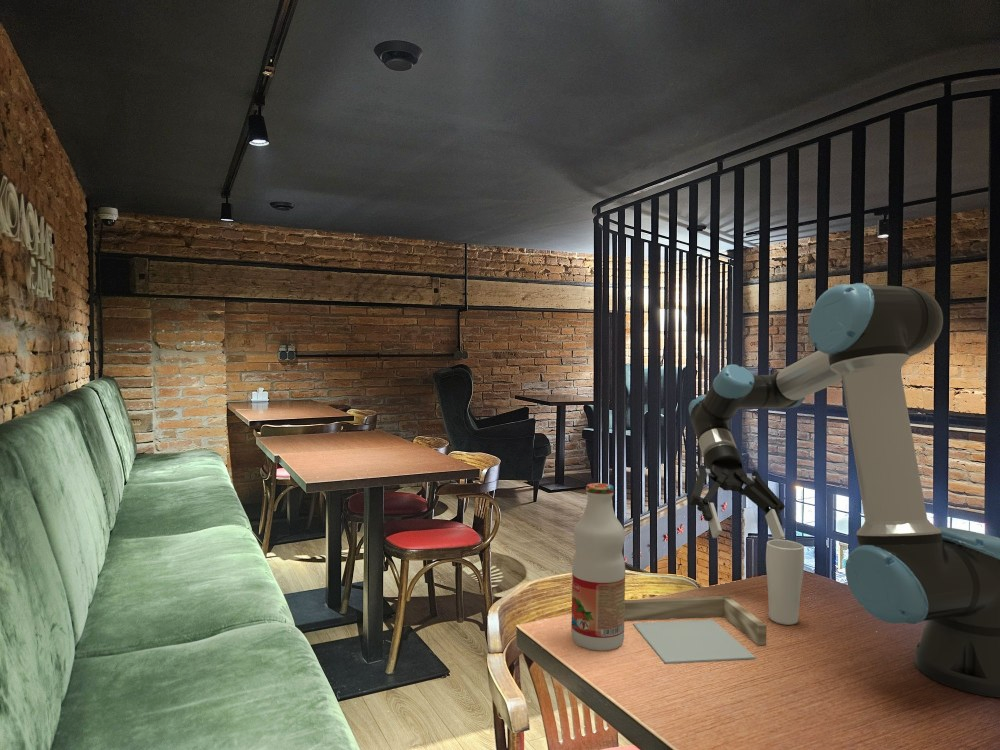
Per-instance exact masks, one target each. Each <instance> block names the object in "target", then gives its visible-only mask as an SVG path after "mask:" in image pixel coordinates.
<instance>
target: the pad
mask: <svg viewBox="0 0 1000 750" xmlns="http://www.w3.org/2000/svg"><path fill="white" fill-rule="evenodd" d="M632 625H633V626H634V627H635V629H636V630H637V631H638V633H639V634H640V635H641V636H642V638H643V639H644V640H645V641H646V642H647V644H649V646H650V647H651V649H653V651H654V652H655V653H656V654H657V656H658V657H659V658H660V659H661V661H662V662H663V663H664V664H665V665H667V664H668V665H670V664H685V663H703V662H705V663H706V662H708V663H709V662H725V661H726V662H727V661H742V660H743V661H747V660H756V656H755V655H754V654H752V652H750V651H749V650H748V649H747V648H746V647H745V646H744V645H742V644H741V643H740V642H739V641H738V640H737V639H736V638H734V637H733V636H732V635H731V634H730V633H728V632H727V630H725V629H724V628H723V627H722V626H721V625H720V624H718V623H717V622H716V621H715V620H714V619H703V620H702V619H701V620H700V619H698V620H677V621H675V620H674V621H656V622H653V621H651V622H633V623H632Z"/></svg>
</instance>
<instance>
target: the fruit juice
mask: <svg viewBox="0 0 1000 750" xmlns="http://www.w3.org/2000/svg"><path fill="white" fill-rule="evenodd" d="M614 488H615V487H614V486H613V484H609V483H601V482H595V483H588V484H587V485H586V486H585V491H586V493H585V495H586V496H587V502H586V505H585V509H584V512H583V514H582V516H581V517H580V519H579V520H578V521H577V523H576V524H575V526H574V529H573V541H574V545H575V553H574V554H573V559H572V564H571V565H572V568H571V578H572V579H571V624H570V626H571V629H570V630H571V638H572V640H573V642H574V643H575V644H576V645H577V646H579V647H581V646H582V648H584V649H588V650H591V651H604V652H605V651H611V650H615V649H618V648H619V647H621V646H622V645H623V643H624V639H625V621H624V615H625V600H626V562H625V558H624V556H623V548H624V545H625V542H626V541H625V540H626V534H625V533H626V532H625V529H624V527H623V525H622V523H621V522H620V520H619V519H618V518H617V516H616V513H615V510H614V506H613V501H612V499H613V496H614V494H615V493H614V492H615V490H614Z"/></svg>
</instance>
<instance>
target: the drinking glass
mask: <svg viewBox="0 0 1000 750" xmlns="http://www.w3.org/2000/svg"><path fill="white" fill-rule="evenodd" d="M765 567H766V569H765V571H766V582H767V598H768V601H767V602H768V617H769V619H770V620H771V621H772V622H774V623H777V624H780V625H784V626H787V625H789V626H791V625H792V626H793V625H795V624H798V623H799V622H798V621H799V620H800V619H799V613H800V612H799V611H800V602H801V594H802V593H801V592H802V586H803V579H804V569H805V568H804V567H805V548H804V545H803V544H802V543H799V542H797V541H794V540H787V539H783V540H774V539H769V540H768V541H766V550H765Z"/></svg>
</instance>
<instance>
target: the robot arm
mask: <svg viewBox="0 0 1000 750" xmlns="http://www.w3.org/2000/svg"><path fill="white" fill-rule="evenodd" d="M807 325H808V327H807V328H808V330H807V331H808V336H809V340H810V342H811V344H812V345H813V347H815V348H816V350H817V351H815V352H813V353H811V354H809V355H807V356H805V357H804V358H801V359H799V360H798V361H796V362H794V363H792V364H790V365H788V366H786V367H784V368H783V369H781V370H778V371H777V372H775V373H773V374H761V375H760V374H757V375H755V374H754V375H753V373H752V372H751V371H750V370H748V368H745V367H744V366H739V364H728V365H725V366H724V367H723V368H721V371H719V373H718V374H717V376H715V377H714V379H713V381H712V384H711V386H710V387H709V389H708V391H707V392H706V394H700V395H698V396H696V398H695V399H692V400H691V401H690V403H689V405H688V413H689V417H690V418H689V419H690V423H691V425H692V428H693V430H694V431H693V432H694V434H695V437H696V440H697V443H698V447H699V449H700V451H701V454H702V457H703V461H704V464H705V465H704V464H700V465H699V466H698V468H697V470H696V471H695V478H696V480H695V484H694V487H693V490H692V494H691V497H690V499H689V500H690V501H689V503H690V505H691V506H694V507H695V506H696V507H697V508H696V509H697V510H698V511H699V512H701V514H702V516H703V519H704V522H707V523H708V526H709V530H710V533H711V537H712V538H713V539H717V538H718V536H719V535H720V534H721V533H722V531H723V529H722V525H721V523H720V519H719V516H718V513H717V510H716V507H715V503H714V502H710V501H711V499H712V498H713V497H714V496H715V494H716V492H717V491H718V490H719V489H721V490H723V491H726V492H727V491H731V492H734V493H735V492H738V493H739V494H740V495H741V496H745V497H747V499H749V500H750V501H751V502H752V503H753V504H755V506H757V507H758V508H759V509H761V510H762V511H763V512H764V513H766V514H765V515H764V518H765V520H766V523H767V525H768V529H769V532H770V534H771V537H772V540H785V537H786V535H785V533H784V530H783V527H782V526H783V521H782V518H781V516H780V513H781V512H782V511H783V510H784V509H785V508H786V506H785V505H786V504H784V503H783V501H781V499H780V498H779V496H777V495H776V494H775V493H774V491H772V490H771V488H770V487H769V486H768V484H766V482H764V480H763V479H762V477H761V476H760V473H759V472H758V471H756V470H754V471H752V472H751V473H747V472H746V471H744V468H743V461H742V458H741V456H740V453H739V450H738V449H737V448H738V447H737V445H736V442H735V439H734V437H733V434H732V432H731V429H730V426H729V422H730V421H731V420H732V419H733V417H734V416H735V414H736V413H737V411H738V410H739V409H743V410H744V409H783V410H785V409H791V408H797V407H799V406H800V405H802V403H803V402H804V401H805V399H806V397H809V396H810V395H813V394H814V393H817V392H819V391H822V390H824V389H826V388H828V387H830V386H833V385H836V384H837V383H840V382H842V387H843V395H844V399H845V400H844V401H845V406H846V413H847V418H848V424H849V431H850V437H851V438H850V439H851V444H852V449H853V454H854V461H855V466H856V473H857V479H858V486H859V491H860V492H859V493H860V498H861V504H862V505H861V506H862V510H863V516H864V518H863V519H864V523H863V524H862V525H861V526H860V528H859V529H858V530H857V531H856V538H857V547H855V548H854V549H853V550H851V552H849V554H848V557H849V558H847V559H846V562H845V567H844V570H845V578H846V581H847V585H848V587H849V590H850V592H851V594H852V595H853V597H854V599H855V600H856V601H857V603H858V604H859V605H860V606H862V607H863V608H864V610H865V611H866V612H867V613H868V614H870V615H871V616H872V617H874V618H875V619H877V620H880V621H881V622H885V623H889V624H909V625H911V624H912V625H913V624H918V623H921V622H926V624H925V626H924V629H923V632H922V635H921V638H920V642H917V644H916V646H915V649H914V665H915V667H916V668H917V669H918V670H919V671H920V672H921V673H923V674H924V675H925V676H927V677H928V678H930V679H932V680H934V681H936V682H939V683H940V684H942V685H945V686H948V687H951V688H953V689H956V690H959V691H962V692H967V693H971V694H974V695H980V696H984V697H990V698H991V697H992V698H1000V537H997V536H994V535H990V534H985V533H980V532H976V531H971V530H966V529H962V528H961V529H959V528H956V527H955V528H953V527H947V526H936V525H934V524H933V523H932V522H931V521H930V520H928V516H927V509H926V505H925V500H924V493H923V492H924V491H923V488H922V482H921V476H920V472H919V466H918V461H917V460H918V459H917V455H916V449H915V444H914V437H913V433H912V426H911V422H910V416H909V410H908V405H907V398H906V393H905V387H904V382H903V377H902V372H901V370H902V369H903V366H904V365H905V364H906V363H907V361H908V360H910V357H913V356H915V355H917V354H919V353H922V352H924V351H926V350H927V349H928V348H929V347H931V346H932V345H934V343H936V341H937V339H938V338H939V336H940V334H941V332H942V330H943V325H944V315H943V310H942V307H941V306H940V305H939V303H938V301H937V300H936V299H935V298H934V297H933V296H932V295H931V294H929V293H928V292H927V291H924V290H922V289H919V288H917V287H913V286H905V285H902V286H901V285H900V286H897V285H883V284H882V285H879V284H866V283H864V282H856V283H853V284H849V283H848V284H847V283H844V284H837V285H833V286H832V287H830V288H829V289H827V290H825V291H824V292H823V293H822V294H820V296H819V297H818V299H817V300H816V302H815V305H814V306H812V308H811V311H810V314H809V317H808V324H807ZM707 477H708V478H709V479H711V481H712V482H714V483H713V484H712V486H711V487H710V488H709V490H708V492H707V493H706V494H705V495H704V497H701V496H702V492H703V489H704V484H705V481H706V479H707ZM744 485H745V487H744V488H743V486H744Z"/></svg>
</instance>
